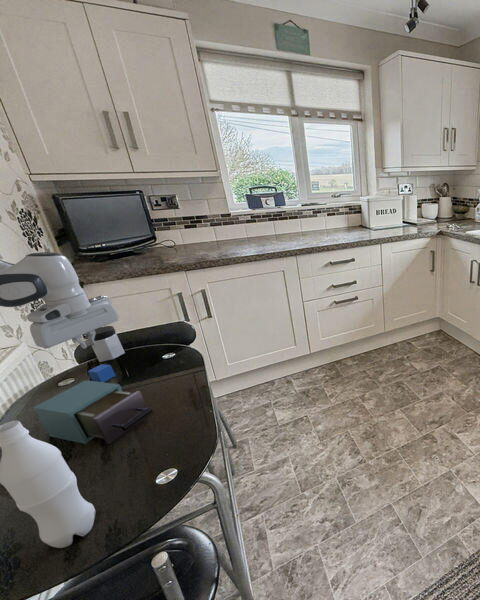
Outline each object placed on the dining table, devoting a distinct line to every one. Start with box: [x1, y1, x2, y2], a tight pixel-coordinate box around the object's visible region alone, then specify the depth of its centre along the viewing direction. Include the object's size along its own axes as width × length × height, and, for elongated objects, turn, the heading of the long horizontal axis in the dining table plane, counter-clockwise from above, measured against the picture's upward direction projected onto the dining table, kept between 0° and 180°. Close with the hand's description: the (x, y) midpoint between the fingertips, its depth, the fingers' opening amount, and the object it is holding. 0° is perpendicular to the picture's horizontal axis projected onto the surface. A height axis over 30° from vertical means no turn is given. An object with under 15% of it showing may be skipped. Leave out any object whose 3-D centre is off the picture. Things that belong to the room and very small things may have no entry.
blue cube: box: [87, 363, 116, 383], centre depth 112 cm, size 4×4×4 cm
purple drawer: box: [74, 390, 153, 445], centre depth 85 cm, size 18×11×8 cm, turn 74°
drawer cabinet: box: [32, 379, 124, 445], centre depth 89 cm, size 14×12×10 cm
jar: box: [85, 325, 126, 363], centre depth 125 cm, size 9×8×12 cm
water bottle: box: [0, 420, 96, 549], centre depth 56 cm, size 7×7×25 cm
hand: (89, 346), depth 102 cm, fingers closed
